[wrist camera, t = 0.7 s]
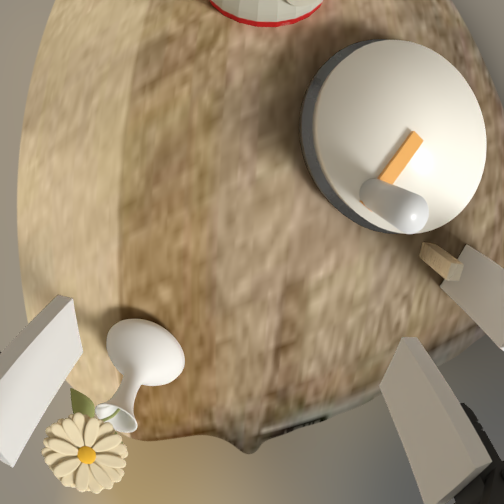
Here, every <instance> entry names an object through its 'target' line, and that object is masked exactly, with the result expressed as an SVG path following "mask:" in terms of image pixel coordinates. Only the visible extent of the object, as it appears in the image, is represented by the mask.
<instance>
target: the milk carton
mask: <svg viewBox="0 0 504 504" xmlns="http://www.w3.org/2000/svg"><path fill="white" fill-rule="evenodd" d="M457 260H459V261H460V262H461V263H463V264H464V266H463V269H462V273H461V276H460V279H459V281H451V280H445V279H444V281H443V282H442V284H441V285H440V288H441V289H442V290H443V291H445V292H446V293H447V294H448V295H449V296H450V297H451V298H452V299H453V300H454V301H455V302H456V303H457V304H458V305H459V306H460V307H461V308H462V309H463V310H464V311H465V312H466V313H467V314H468V315H469V316H470V317H471V318H472V319H473V320H474V321H475V322H476V323H477V324H478V325H479V326H480V328H481V329H482V330H483V331H484V332H485V333H486V334H487V335H488V336H489V337H490V338H491V339H492V340H493V341H494V342H495V344H496V345H497V346H498V347H499V348H500V349H502V350H503V351H504V268H502V267H501V266H499V265H498V264H496V263H495V262H494V261H492V260H491V259H489V258H487V257H486V256H484V255H483V254H481V253H480V252H478V251H477V250H475V249H474V248H472V247H470V246H469V245H467V244H466V246H465V247H464V249H463V251H462V252H461V254H460V256H459V257H458V259H457Z"/></svg>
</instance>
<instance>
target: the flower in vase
mask: <svg viewBox="0 0 504 504" xmlns="http://www.w3.org/2000/svg"><path fill="white" fill-rule="evenodd" d="M106 346H107V352H108V355H109V357H110V359H111V361H112V363H113V364H114V366H115V367H116V368H117V370H118V371H119V372H120V373H121V374H123V380H122V382H121V384H120V386H119V388H118V390H117V391H116V393H115V394H114V395H113V396H112V398H111V399H110V400H108V401H107V402H105V403H101V404H98V405H97V406H96V407H95V408H94V404H93V402H92V401H91V400H90V399H89V398H88V397H87V396H85V395H84V394H82V393H80V392H79V391H77V390H74V389H72V388H71V389H70V390H71V401H72V409H73V413H74V414H71V415H69V417H68V418H65V419H59V420H58V422H57V423H53V424H52V425H51V426H49V427H47V428H46V434H47V435H48V436H49V437H48V438H45V439H44V441H43V444H44V445H45V446H46V447H45V448H43V449H42V451H41V453H42V455H43V456H44V457H45V462H46V463H47V464H48V465H49V468H50V469H51V470H52V471H53V474H54V475H55V476H56V477H57V478H58V479H59V480H60V481H61V483H62V484H63V485H64V486H66V487H68V486H70V487H73V488H74V487H76V488H77V490H78V491H80V492H84V491H92V492H93V493H95V494H98V493H100V491H101V490H103V489H104V488H106V489H111V488H112V487H113V483H114V482H119V481H120V480H121V477H122V476H123V475H124V471H123V470H122V469H121V468H123V467H125V466H126V461H125V460H124V459H123V458H125V457H127V456H128V452H127V447H126V445H125V444H123V442H122V438H121V436H120V435H118V434H117V433H116V432H115V430H117V431H120V432H133V431H135V430H136V429H137V422H136V420H135V418H134V414H133V406H134V401H135V397H136V394H137V391H138V389H139V387H140V386H141V384H142V385H148V386H157V385H164V384H167V383H170V382H171V381H173V380H174V379H176V378H177V377H178V376H179V375H180V374H181V372H182V370H183V368H184V364H185V358H184V353H183V350H182V348H181V346H180V344H179V343H178V341H177V340H176V339H175V338H174V336H173V335H172V334H171V333H170V332H169V331H167V330H166V329H165V328H163V327H162V326H160V325H158V324H156V323H154V322H151V321H148V320H144V319H126V320H122V321H119V322H118V323H116V324H115V325H113V326H112V328H111V329H110V330H109V332H108V335H107V343H106ZM94 412H95V413H96V415H97V417H98V418H99V419H97V418H95V417H94Z"/></svg>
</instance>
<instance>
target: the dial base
mask: <svg viewBox="0 0 504 504" xmlns="http://www.w3.org/2000/svg"><path fill="white" fill-rule="evenodd" d="M383 40H386V39H373V40H367V41H361V42H358V43H355V44H352V45H350V46H348V47H346V48H344V49H342V50H340V51H339V52H338V53H336V54H335V55H334V56H332V57H331V58H330V59H329V60H328V61H327V62H326V63H325V64H324V65H323V66H322V67H321V68H320V69H319V70H318V72H317V73H316V74H315V76H314V77H313V79H312V80H311V82H310V84H309V86H308V88H307V90H306V92H305V96H304V99H303V102H302V106H301V112H300V119H299V134H300V144H301V149H302V153H303V157H304V160H305V163H306V166H307V169H308V171H309V173H310V175H311V177H312V179H313V181H314V182H315V184H316V185H317V187H318V188H319V190H320V191H321V193H322V194H323V195H324V196H325V197H326V199H327V200H328V201H329V202H330V203H331V204H332V205H333V206H334V207H336V208H337V209H338V210H339V211H340V212H341V213H342V214H343V215H345V216H346V217H348V218H349V219H351V220H352V221H353V222H355V223H357V224H359V225H361V226H363V227H365V228H368V229H371V230H374V231H378V232H383V233H392V234H401V233H397V232H392V231H388V230H385V229H383V228H380V227H378V226H376V225H374V224H372V223H370V222H368V221H367V220H366V219H364V218H363V217H361V216H360V215H359V214H357V213H356V212H355V211H354V210H352V209H351V208H350V207H349V206H347V205H346V204H345V203H344V202H343V201H342V200H341V199H340V198H339V197H338V195H337V194H336V193H335V192H334V191H333V189H332V188H331V186H330V185H329V183H328V181H327V180H326V178H325V176H324V174H323V172H322V170H321V168H320V165H319V162H318V159H317V156H316V152H315V148H314V143H313V132H312V123H313V112H314V106H315V102H316V99H317V96H318V93H319V91H320V89H321V87H322V85H323V82H324V81H325V79H326V78H327V77H328V75H329V74H330V72H331V71H332V70H333V69H334V68H335V67H336V66H337V65H338V64H339V63H340V62H341V61H342V60H344V59H345V58H346V57H347V56H349V55H350V54H351V53H353V52H354V51H355V50H357V49H359V48H361V47H363V46H365V45H367V44H370V43H373V42H377V41H383ZM419 257H420V258H421V259H422V260H423V261H424V262H426V263H427V264H428V265H429V266H430V267H432V268H433V269H434V270H435V271H436V272H437V273H439V274H440V275H441V276H442V277H443V278H444V279H445V280H451V281H459V279H460V276H461V273H462V269H463V266H464V264H463V263H461V262H460V261H459V260H457V259H456V258H454V257H453V256H452V255H450V254H449V253H447V252H446V251H445V250H443V249H442V248H440V247H439V246H437V245H436V244H435V243H427V242H422V246H421V250H420V254H419Z"/></svg>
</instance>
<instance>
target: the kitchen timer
mask: <svg viewBox="0 0 504 504" xmlns="http://www.w3.org/2000/svg"><path fill="white" fill-rule="evenodd" d="M209 1H210V2H211V4H212V5H213V6H214V7H215V8H216V9H217V10H218V11H220V12H221V13H222V14H223V15H224V16H227V17H229V18H231V19H233V20H235V21H237V22H239V23H243V24H248V25H252V26H257V27H278V26H283V25H289V24H294V23H296V22H298V21H300V20H303V19H305V18H307V17H309V16H310V15H311V14H312V13H313V12H315V11H316V10H317V9H318V8H319V7H320V5H321V4H322V2H323V0H209Z"/></svg>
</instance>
